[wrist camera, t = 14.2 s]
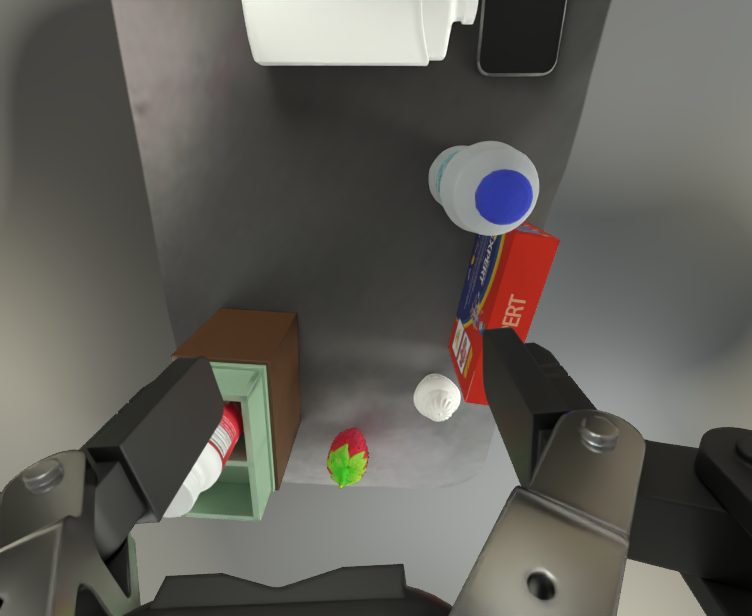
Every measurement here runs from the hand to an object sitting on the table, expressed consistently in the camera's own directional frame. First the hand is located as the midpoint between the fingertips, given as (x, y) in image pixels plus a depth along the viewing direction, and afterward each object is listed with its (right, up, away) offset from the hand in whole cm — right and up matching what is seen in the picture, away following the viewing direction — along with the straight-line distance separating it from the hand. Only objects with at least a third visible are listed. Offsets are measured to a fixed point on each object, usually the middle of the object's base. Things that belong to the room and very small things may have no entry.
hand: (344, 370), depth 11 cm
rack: (-15, -7, +41) cm, 44 cm away
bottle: (+10, +16, +30) cm, 36 cm away
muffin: (+9, -9, +41) cm, 43 cm away
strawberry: (-3, -17, +45) cm, 48 cm away
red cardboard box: (+14, +4, +35) cm, 38 cm away
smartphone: (+15, +32, +23) cm, 42 cm away
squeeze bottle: (0, +30, +24) cm, 39 cm away
